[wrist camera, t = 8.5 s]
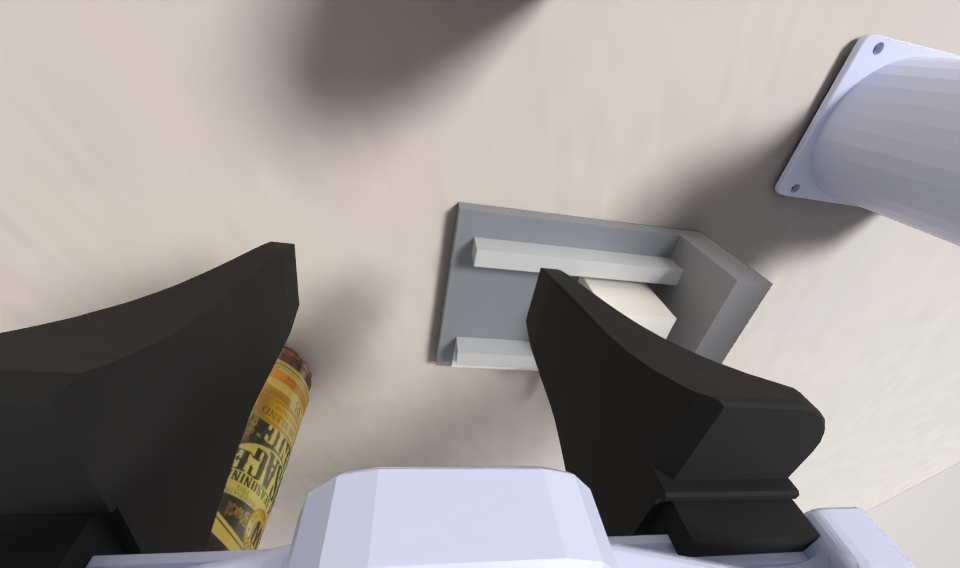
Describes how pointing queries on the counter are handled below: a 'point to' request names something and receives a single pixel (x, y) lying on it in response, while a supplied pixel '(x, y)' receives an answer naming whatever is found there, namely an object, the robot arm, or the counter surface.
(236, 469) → the sauce bottle
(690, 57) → the counter surface
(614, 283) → the block
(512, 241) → the board
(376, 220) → the counter surface
